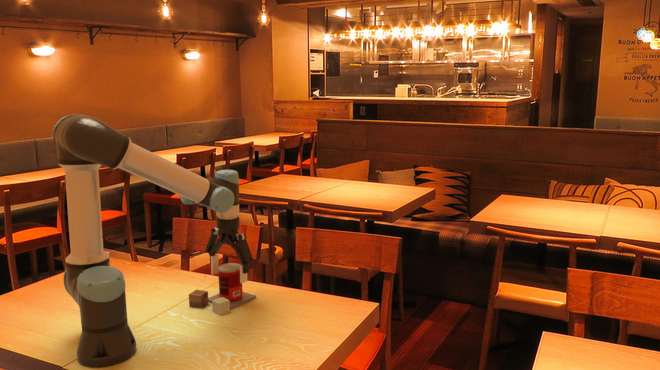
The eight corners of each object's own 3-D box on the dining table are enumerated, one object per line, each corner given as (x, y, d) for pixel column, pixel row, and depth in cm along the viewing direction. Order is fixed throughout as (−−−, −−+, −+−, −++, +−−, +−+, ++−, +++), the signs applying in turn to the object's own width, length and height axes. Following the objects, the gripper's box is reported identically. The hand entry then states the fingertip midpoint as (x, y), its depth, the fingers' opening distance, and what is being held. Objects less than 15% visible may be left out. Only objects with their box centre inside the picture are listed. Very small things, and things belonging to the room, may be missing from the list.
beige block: (219, 315, 178) (218, 303, 177) (212, 312, 180) (212, 300, 180) (230, 312, 180) (229, 300, 179) (223, 308, 183) (222, 297, 182)
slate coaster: (231, 309, 182) (231, 307, 182) (205, 301, 189) (205, 299, 188) (256, 297, 191) (256, 295, 191) (231, 290, 198) (231, 288, 198)
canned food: (245, 293, 193) (243, 263, 191) (239, 302, 186) (237, 271, 183) (223, 292, 194) (222, 262, 192) (216, 301, 186) (215, 270, 184)
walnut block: (201, 309, 183) (200, 296, 182) (189, 307, 184) (188, 294, 183) (208, 303, 187) (207, 291, 186) (197, 302, 188) (196, 289, 188)
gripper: (263, 220, 180) (264, 282, 184) (210, 209, 194) (211, 267, 198) (247, 224, 174) (248, 289, 178) (193, 213, 188) (195, 273, 192)
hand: (229, 277), depth 188 cm, fingers open, 13 cm apart
